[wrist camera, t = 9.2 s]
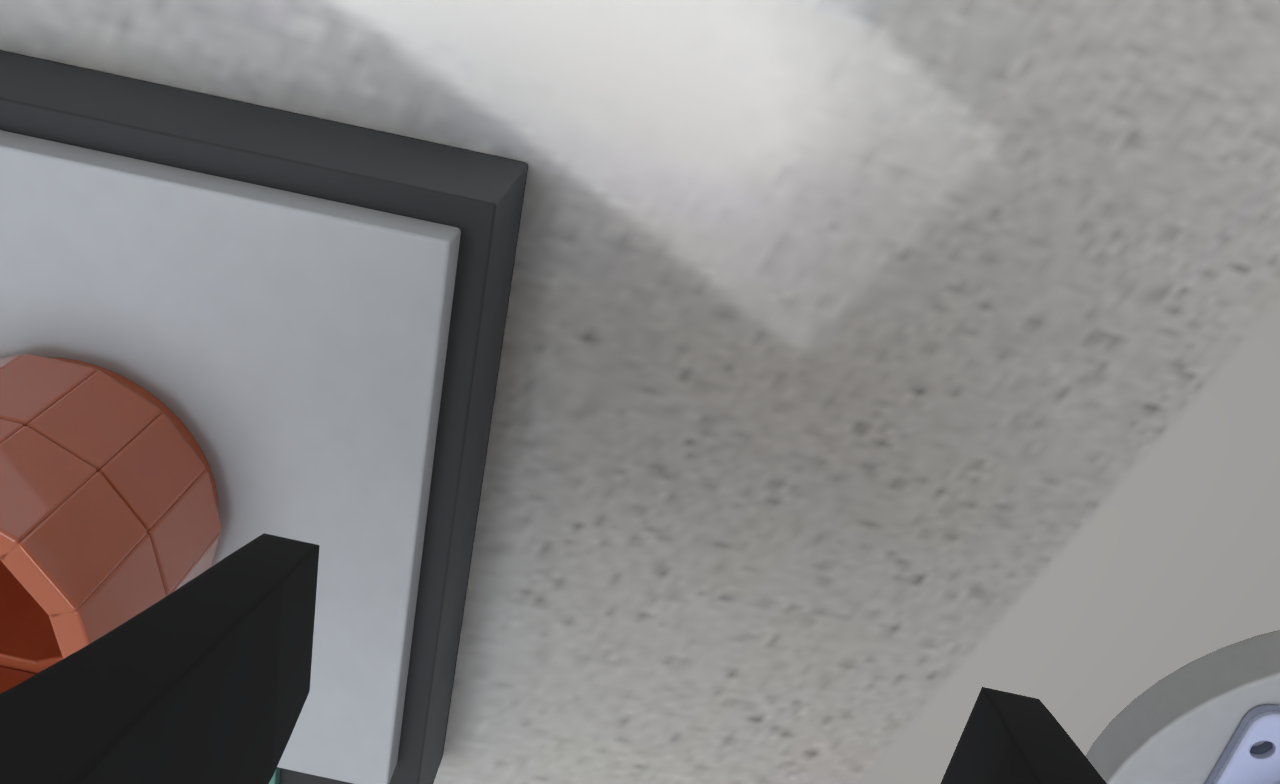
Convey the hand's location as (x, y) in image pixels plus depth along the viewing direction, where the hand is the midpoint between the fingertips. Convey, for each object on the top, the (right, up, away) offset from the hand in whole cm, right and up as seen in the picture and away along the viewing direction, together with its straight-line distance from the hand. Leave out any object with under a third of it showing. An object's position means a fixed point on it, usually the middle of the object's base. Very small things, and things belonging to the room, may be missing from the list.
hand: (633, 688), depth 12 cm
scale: (-10, +3, +11) cm, 15 cm away
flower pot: (-10, +2, +8) cm, 13 cm away
